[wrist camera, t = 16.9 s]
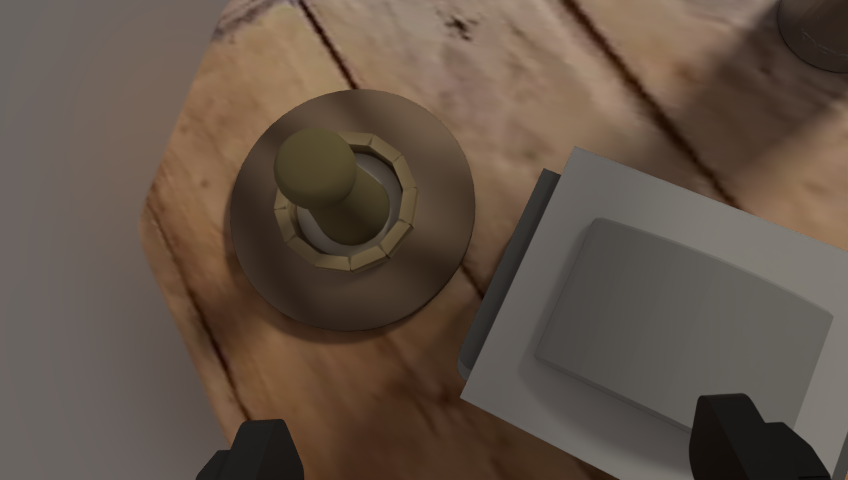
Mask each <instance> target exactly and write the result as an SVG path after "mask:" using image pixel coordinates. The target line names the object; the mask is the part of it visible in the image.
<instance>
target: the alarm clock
mask: <svg viewBox="0 0 848 480" xmlns="http://www.w3.org/2000/svg"><path fill="white" fill-rule="evenodd" d="M457 366H458V372H459V374H460V375H461V377H462V378H463V380H465V381H467V383H466V385H465V387H464V389H463V391H462V394H461V396H460V398H461V399H463V400H465V401H467V402H469V403H471V404H473V405H475V406H477V407H479V408H481V409H483V410H485V411H487V412H489V413H491V414H493V415H495V416H497V417H499V418H500V419H502V420H504V421H506V422H508V423H510V424H512V425H514V426H516V427H518V428H520V429H522V430H524V431H526V432H528V433H530V434H532V435H534V436H536V437H538V438H540V439H542V440H544V441H546V442H547V443H549V444H551V445H553V446H555V447H557V448H559V449H561V450H563V451H565V452H567V453H569V454H571V455H573V456H575V457H577V458H579V459H581V460H583V461H585V462H587V463H589V464H591V465H593V466H594V467H596V468H598V469H600V470H602V471H604V472H606V473H608V474H610V475H612V476H614V477H616V478H618V479H620V480H694V478H693V474H692V471H691V466H690V461H689V442H690V437H691V432H692V426H693V421H694V415H695V410H696V405H697V400H698V398H699V396H701V395H716V394H732V393H744V394H746V395H747V396H749V397H750V399H751V400H752V401H753V403H754V405H755V406H756V408H757V410H758V411H759V413H760V415H761V416H762V418H763V420H764V421H765V423H770V422H784V423H785V424H786V425H787V426H788V427H790V428H791V429H792V430H793V431H794V432H795V433H797V434H798V435H799V436H800V437H801V438H803V439H804V440H805V441H806V442H807V443H808V444H810V445H811V446H812V447H813V449H814V451H815V452H816V454H817V455H818V457H819V458H820V460H821V461H822V463H823V464H824V466H825V467H826V469H827V470H828V472H829V474H830V475H831V480H844V479H845V477H846V474H847V471H848V252H847V251H845V250H842V249H839V248H837V247H834V246H832V245H829V244H826V243H824V242H821V241H819V240H816V239H814V238H811V237H808V236H806V235H803V234H801V233H798V232H796V231H793V230H790V229H788V228H785V227H783V226H780V225H777V224H775V223H772V222H770V221H767V220H765V219H762V218H759V217H757V216H754V215H752V214H749V213H747V212H744V211H741V210H739V209H736V208H734V207H731V206H728V205H726V204H723V203H721V202H718V201H716V200H713V199H710V198H708V197H705V196H703V195H700V194H697V193H695V192H692V191H690V190H687V189H685V188H682V187H679V186H677V185H674V184H672V183H669V182H667V181H664V180H661V179H659V178H656V177H654V176H651V175H648V174H646V173H643V172H641V171H638V170H636V169H633V168H630V167H628V166H625V165H623V164H620V163H618V162H615V161H612V160H610V159H607V158H605V157H602V156H599V155H597V154H594V153H592V152H589V151H587V150H584V149H581V148H579V147H576V146H574V149H573V151H572V153H571V155H570V157H569V160H568V162H567V164H566V166H565V168H564V171H563V173H562V175H559V174H557V173H554V172H552V171H549V170H547V169H543V171H542V173H541V175H540V177H539V179H538V182H537V184H536V186H535V188H534V190H533V192H532V195H531V197H530V199H529V201H528V203H527V205H526V208H525V210H524V212H523V214H522V216H521V218H520V220H519V223H518V225H517V227H516V229H515V231H514V233H513V236H512V238H511V240H510V242H509V244H508V246H507V249H506V251H505V253H504V255H503V257H502V259H501V262H500V264H499V266H498V268H497V270H496V272H495V274H494V277H493V279H492V281H491V283H490V285H489V287H488V290H487V292H486V294H485V296H484V298H483V300H482V303H481V305H480V307H479V309H478V311H477V313H476V315H475V318H474V320H473V322H472V324H471V326H470V328H469V331H468V333H467V335H466V337H465V339H464V341H463V344H462V346H461V348H460V354H459V356H458V359H457Z"/></svg>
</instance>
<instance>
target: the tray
mask: <svg viewBox="0 0 848 480" xmlns="http://www.w3.org/2000/svg"><path fill="white" fill-rule="evenodd" d="M308 128H324V129H327V130H329V131H332V132H334V133H336V134H338V135H339V136H341V137H342V138H343V139H344V140H345V141H346V142H347V143H348V145H349V146H350V148H351V150H352V151H353V153H354V155H355V159H356V164H357V165H358V166H359V167H361V168H362V169H363V170H365V171H366V172H367V173H368V174H370V175H371V176H372V177H374V178H375V179H376V180H377V181H378V182H379V183H381V184H382V185H383V187H384V189H385V190H386V192H387V194H388V197H389V202H390V212H389V218H388V220H387V222H386V224H385V226H384V228H383V230H382V231H381V232H380V233H379V234H378V235H377V236H376V237H375V238H373V239H371V240H370V241H368V242H366V243H364V244H360V245H355V246H348V245H341V244H339V243H336V242H334V241H332V240H330V239H329V238H328V237H327V236H326V235H325V234H324V233H323V232H322V230H321V229H320V227H319V226H318V224H317V223H316V221H315V220H314V218H313V217H312V215H311V214H310V212H309V211H308V209H304V208H301V207H299V206H297V205H294V204H293V203H291V202H290V201H289V200H288V199H287V198H286V197H285V196H284V195H283V194H282V193H281V191H280V190H279V188H278V186H277V184H276V181H275V178H274V171H273V166H274V160H275V156H276V154H277V152H278V150H279V148H280V146H281V145H282V143H283V142H284V141H285V140H286V139H287V138H288V137H289V136H291V135H293V134H294V133H296V132H298V131H300V130H303V129H308ZM474 219H475V195H474V185H473V180H472V176H471V171H470V168H469V165H468V162H467V160H466V157H465V154H464V153H463V151H462V149H461V147H460V145H459V143H458V141H457V140H456V139H455V137H454V136H453V135H452V133H451V132H450V131H449V129H448V128H447V127H446V126H445V125H444V124H443V123H442V122H441V121H440V120H439V119H438V118H437V117H436V116H434V115H433V114H432V113H431V112H429V111H428V110H427V109H425V108H424V107H422V106H420V105H418V104H417V103H415V102H413V101H411V100H408V99H406V98H404V97H401V96H399V95H395V94H391V93H388V92H383V91H376V90H357V89H354V90H345V91H338V92H333V93H329V94H325V95H322V96H319V97H317V98H314V99H311V100H309V101H307V102H305V103H303V104H301V105H299V106H297V107H295V108H294V109H292V110H291V111H289V112H288V113H286V114H285V115H283V116H282V117H281V118H279V119H278V120H277V121H276V122H275V123H273V124H272V125H271V126H270V127H269V128H268V129H267V130H266V131H265V133H264V134H263V135H262V136H261V137H260V138H259V139H258V141H257V142H256V143H255V145H254V146H253V148H252V149H251V150H250V152H249V154H248V156H247V157H246V159H245V161H244V163H243V165H242V167H241V170H240V172H239V174H238V177H237V180H236V184H235V187H234V191H233V196H232V203H231V218H230V224H231V233H232V240H233V244H234V248H235V252H236V255H237V258H238V260H239V263H240V265H241V267H242V269H243V271H244V273H245V275H246V276H247V278H248V280H249V281H250V283H251V284H252V285H253V287H254V288H255V289H256V290H257V292H258V293H259V294H260V295H261V296H262V297H263V298H264V299H265V300H266V301H267V302H268V303H269V304H271V305H272V306H273V307H275V308H276V309H277V310H279V311H280V312H281V313H283V314H285V315H287V316H289V317H291V318H292V319H294V320H296V321H299V322H302V323H304V324H307V325H310V326H314V327H318V328H323V329H328V330H334V331H364V330H369V329H374V328H379V327H383V326H386V325H389V324H391V323H394V322H397V321H399V320H401V319H403V318H405V317H407V316H409V315H411V314H413V313H414V312H416V311H417V310H419V309H420V308H422V307H423V306H425V305H426V304H427V303H428V302H429V301H431V300H432V299H433V298H434V297H435V296H436V295H437V294H438V293H439V292H440V291H441V290H442V289H443V288H444V287H445V285H446V284H447V283H448V282H449V281H450V279H451V278H452V276H453V275H454V273H455V272H456V270H457V269H458V267H459V266H460V263H461V261H462V259H463V257H464V255H465V253H466V251H467V248H468V245H469V242H470V239H471V236H472V231H473V225H474Z"/></svg>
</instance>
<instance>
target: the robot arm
mask: <svg viewBox="0 0 848 480" xmlns="http://www.w3.org/2000/svg"><path fill="white" fill-rule="evenodd" d="M778 22H779V28H780V31H781V34H782V36H783V38H784V40H785V41H786V43H787V45H788V46H789V48H790V49H791V50H793V51H794V52H795V53H796V54H797V55H798V56H799V57H800V58H802V59H803V60H805V61H806V62H808V63H809V64H812V65H814V66H816V67H819V68H821V69H825V70H829V71H833V72H846V73H848V0H782V1H781V3H780V5H779V12H778ZM689 461H690V466H691V471H692V474H693V478H694V480H831V475H830V474H829V472H828V470H827V469H826V467H825V466H824V464H823V463H822V461H821V460H820V458H819V457H818V455H817V454H816V452H815V451H814V449H813V447H812V446H811V445H810V444H808V443H807V442H806V441H805V440H804V439H803V438H801V437H800V436H799V435H798V434H797V433H795V432H794V431H793V430H792V429H791V428H790V427H788V426H787V425H786V424H785V423H784V422H770V423H765V421H764V420H763V418H762V416H761V415H760V413H759V411H758V410H757V408H756V406H755V405H754V403H753V401H752V400H751V399H750V397H749V396H747V395H746V394H744V393H732V394H716V395H701V396H699V398H698V400H697V405H696V410H695V415H694V421H693V426H692V432H691V437H690V442H689ZM196 480H304V470H303V465H302V462H301V460H300V457H299V455H298V452H297V450H296V447H295V445H294V443H293V440H292V438H291V435H290V433H289V430H288V428H287V425H286V423H285V422H284V420H282V419H271V420H254V421H245V422H243V423H242V424H241V426H240V428H239V430H238V432H237V434H236V437H235V439H234V442H233V444H232V447H231V449H230V450H219V451H217V452H216V453H215V455H214V456H213V457H212V458H211V459H210V460H209V462H208V463H207V464H206V465H205V466H204V468H203V469H202V470H201V471H200V472H199V474H198V475H197V477H196Z"/></svg>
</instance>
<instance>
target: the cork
mask: <svg viewBox="0 0 848 480" xmlns="http://www.w3.org/2000/svg"><path fill="white" fill-rule="evenodd" d="M273 171H274V178H275V181H276V184H277V186H278V188H279V190H280V191H281V193H282V194H283V195H284V196H285V197H286V198H287V199H288V200H289V201H290V202H291V203H293V204H294V205H297V206H299V207H301V208H304V209H308V211H309V212H310V214H311V215H312V217H313V218H314V220H315V221H316V223H317V224H318V226H319V227H320V229H321V230H322V232H323V233H324V234H325V235H326V236H327V237H328V238H329V239H330V240H332V241H334V242H336V243H339V244H341V245H348V246H355V245H360V244H364V243H366V242H368V241H370V240H371V239H373V238H375V237H376V236H377V235H378V234H379V233H380V232H381V231H382V230H383V228H384V226H385V224H386V222H387V220H388V218H389V212H390V202H389V197H388V194H387V192H386V190H385V189H384V187H383V185H382V184H381V183H379V182H378V181H377V180H376V179H375V178H374V177H372V176H371V175H370V174H368V173H367V172H366V171H365V170H363V169H362V168H361V167H359V166H358V165H357V164H356V159H355V155H354V153H353V151H352V150H351V148H350V146H349V145H348V143H347V142H346V141H345V140H344V139H343V138H342V137H341V136H339V135H338V134H336V133H334V132H332V131H329V130H327V129H324V128H308V129H303V130H300V131H298V132H296V133H294V134H293V135H291V136H289V137H288V138H287V139H286V140H285V141H284V142H283V143H282V145H281V146H280V148H279V150H278V152H277V154H276V156H275V160H274V166H273Z"/></svg>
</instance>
